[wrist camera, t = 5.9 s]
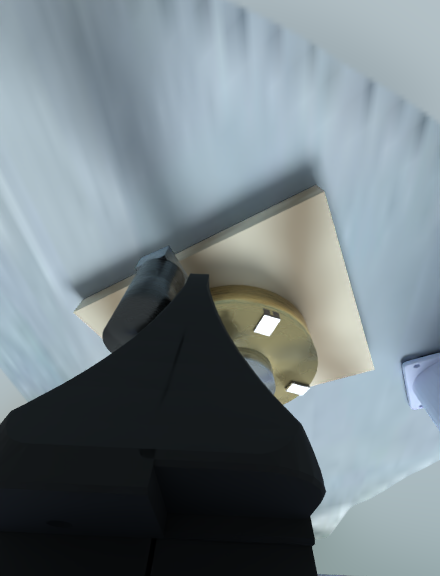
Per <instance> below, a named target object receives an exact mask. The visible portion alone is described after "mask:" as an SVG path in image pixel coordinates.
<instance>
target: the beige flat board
mask: <svg viewBox="0 0 440 576" xmlns="http://www.w3.org/2000/svg"><path fill="white" fill-rule="evenodd" d="M175 256H176V257H177V259H178V261H179V262H180V264H181V265H182V267H183V269H184V270H185V272H186V273H187V275H188V277H189V275H190V273H192V274H209V288H214V287H220V286H228V285H246V286H253V287H258V288H262V289H266V290H269V291H271V292H274V293H276V294H278V295H280V296H282V297H283V298H285V299H286V300H288V301H289V302H291V303H292V304H293V305H294V306H295V307H296V308H297V309H298V310H299V312H300V313H301V315H302V316H303V318H304V320H305V322H306V325H307V327H308V330H309V333H310V335H311V338H312V341H313V343H314V346H315V349H316V352H317V356H318V367H317V372H316V374H315V377H314V379H313V381H312V382H311V384H310V385H309V386H314V385H318V384H322V383H326V382H329V381H333V380H337V379H341V378H345V377H348V376H352V375H356V374H360V373H364V372H368V371H371V370H374V366H373V362H372V359H371V355H370V352H369V348H368V345H367V341H366V338H365V334H364V330H363V327H362V323H361V320H360V316H359V313H358V309H357V305H356V302H355V298H354V295H353V291H352V288H351V284H350V280H349V277H348V273H347V270H346V266H345V263H344V259H343V256H342V252H341V248H340V245H339V241H338V238H337V234H336V231H335V227H334V223H333V220H332V216H331V213H330V209H329V206H328V202H327V199H326V195H325V191H323V190H322V189H321V188H319V187H318V186H317V185H315V186H313V187H310V188H308V189H306V190H304V191H302V192H300V193H298V194H296V195H294V196H292V197H290V198H288V199H286V200H284V201H282V202H280V203H278V204H276V205H274V206H272V207H270V208H268V209H266V210H264V211H262V212H260V213H258V214H256V215H254V216H252V217H250V218H248V219H246V220H244V221H242V222H240V223H238V224H236V225H234V226H232V227H229V228H227V229H225V230H223V231H221V232H219V233H217V234H215V235H213V236H211V237H209V238H207V239H205V240H203V241H201V242H199V243H197V244H195V245H193V246H191V247H189V248H187V249H185V250H183V251H181V252H179V253H177V254H175ZM135 275H136V274H134V275H132V276H130V277H128V278H126V279H124V280H122V281H120V282H118V283H116V284H114V285H112V286H110V287H108V288H106V289H104V290H102V291H100V292H98V293H96V294H94V295H92V296H90V297H88V298H86V299H84V300H83V301H82V302H81V303H80V304H79V306H78V307H77V308H76V309H75V311H74V312H73V313H74V314H75V315H77V316H78V317H79V318H80V319H81V320H82V321H83V322H84V323H86V324H87V325H88V326H89V327H90V328H91V329H92V330H93V331H94V332H96V333H97V334H98V335H99V336H100V337H101V338H102V334H103V330H104V328H105V327H106V325H107V323H108V321H109V320H110V318H111V316H112V315H113V313H114V311H115V309H116V308H117V306H118V304H119V302H120V301H121V299H122V297H123V296H124V294H125V292H126V290H127V289H128V287H129V285H130V283H131V282H132V280H133V278H134V277H135ZM102 339H103V338H102Z"/></svg>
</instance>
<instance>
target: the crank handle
mask: <svg viewBox="0 0 440 576" xmlns="http://www.w3.org/2000/svg"><path fill="white" fill-rule="evenodd" d="M135 269H136V270H137V273H136V275H135V277H134V278H133V280H132V282H131V283H130V285H129V287H128V289H127V290H126V292H125V294H124V296H123V297H122V299H121V301H120V302H119V304H118V306H117V308H116V309H115V311H114V313H113V315H112V316H111V318H110V320H109V321H108V323H107V325H106V327H105V328H104V330H103V334H102V338H103V342H104V344H105V346H106V347H107V349H108V350H109V351H110V352H111V353H113V352H114V351H116V350H117V349H119V348H120V347H121V346H123V345H124V344H125V343H127V342H128V341H129V340H131V339H132V338H133V337H134V336H136V335H137V334H138V333H139V332H140V331H142V330H143V329H144V328H145V327H146V326H147V325H148V324H149V323H151V322H152V321H153V320H154V319H155V318H156V317H157V316H158V315H159V314H160V313H161V312H162V311H163V310H164V309H165V308H166V307H167V305H168V304H169V303H170V302H171V301H172V300H173V299H174V297H175V296H176V295H177V294H178V293H179V292H180V290H181V289H182V288H183V286H184V285H185V284H186V281H187V279H188V275H187V273H186V272H185V270H184V269H183V267H182V265H181V264H180V262H179V261H178V259H177V257H176V256H175V254H174V253H173V251H172V250H171V248H170V246H167V247H164V248H162V249H160V250H158V251H155V252H153V253H151V254H149V255H146V256H144V257H142V258H141V259H140V261H139V262H138V264H137V266H136V267H135ZM210 292H211V295H212V298H213V301H214V304H215V306H216V309H217V311H218V314H219V316H220V318H221V320H222V322H223V324H224V326H225V328H226V330H227V332H228V334H229V335H230V337H231V339H232V340H233V342H234V344H235V345H236V347H237V348H238V350H239V351H240V353H241V354H242V356H243V357H244V358H245V360H246V361H247V362H248V364H249V365H250V366H251V368H252V369H253V370H254V372H255V373H256V374H257V376H258V377H259V378H260V379H261V381H262V382H263V383H264V384H265V385H266V387H267V388H268V389H269V390H270V391H271V392H272V394H273V395H274V396H275V397H276V398H277V399H278V400H279V401H280V402H281V403H282V405H283V404H285V403H287V402H289V401H291V400H293V399H294V398H296V397H297V396H299V395H304V394H305V393H306V392H307V391H308V390H309V389H310V386H309V385H310V384H311V382H312V381H313V379H314V377H315V374H316V372H317V367H318V356H317V352H316V349H315V346H314V343H313V341H312V338H311V335H310V333H309V330H308V327H307V325H306V322H305V320H304V318H303V316H302V315H301V313H300V312H299V310H298V309H297V308H296V307H295V306H294V305H293V304H292V303H291V302H289V301H288V300H286V299H285V298H283V297H282V296H280V295H278V294H276V293H274V292H271V291H269V290H266V289H262V288H258V287H253V286H246V285H228V286H220V287H214V288H210Z"/></svg>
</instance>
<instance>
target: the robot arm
mask: <svg viewBox="0 0 440 576" xmlns="http://www.w3.org/2000/svg"><path fill="white" fill-rule="evenodd" d="M402 369H403V375H404V380H405V386H406V391H407V397H408V402H409V406H410V408H411V409H413V410H417V409H422V408H424V409H425V410H426V412H427V413H428V415H429V416H430V418H431V419H432V421H433V422H434V424H435V425H436V427H437V428H438V429H439V431H440V353H436V354H432V355H428V356H425V357H421V358H417V359H413V360H409V361H406V362H404V363H403V364H402ZM325 493H326V490H325V486H324V481H323V477H322V473H321V470H320V467H319V465H318V462H317V459H316V456H315V454H314V451H313V449H312V446H311V444H310V442H309V439H308V437H307V435H306V433H305V431H304V429H303V426H302V424H301V423H300V422H299V421H298V420H297V419H296V418H295V417H294V416H293V415H292V414H291V413H290V412H289V411H288V410H287V409H286V408H285V407H284V406H283V405H282V403H281V402H280V401H279V400H278V399H277V398H276V397H275V396H274V395H273V394H272V392H271V391H270V390H269V389H268V388H267V387H266V385H265V384H264V383H263V382H262V381H261V379H260V378H259V377H258V376H257V374H256V373H255V372H254V370H253V369H252V368H251V366H250V365H249V364H248V362H247V361H246V360H245V358H244V357H243V356H242V354H241V353H240V351H239V350H238V348H237V347H236V345H235V344H234V342H233V340H232V339H231V337H230V335H229V334H228V332H227V330H226V328H225V326H224V324H223V322H222V320H221V318H220V316H219V314H218V311H217V309H216V306H215V304H214V301H213V298H212V295H211V292H210V288H209V274H192V273H190V275H189V277H188V279H187V281H186V284H185V285H184V286H183V288H182V289H181V290H180V292H179V293H178V294H177V295H176V296H175V297H174V299H173V300H172V301H171V302H170V303H169V304H168V305H167V307H166V308H165V309H164V310H163V311H162V312H161V313H160V314H159V315H158V316H157V317H156V318H155V319H154V320H153V321H152V322H151V323H149V324H148V325H147V326H146V327H145V328H144V329H143V330H142V331H140V332H139V333H138V334H137V335H136V336H134V337H133V338H132V339H131V340H129V341H128V342H127V343H125V344H124V345H123V346H121V347H120V348H119V349H117V350H116V351H114V352H113V353H112V354H110V355H109V356H107V357H106V358H105V359H103V360H101V361H100V362H98V363H97V364H95V365H94V366H92V367H91V368H89V369H87V370H86V371H84V372H82V373H81V374H79V375H77V376H76V377H74V378H72V379H71V380H69V381H67V382H65V383H64V384H62V385H60V386H58V387H56V388H54V389H52V390H51V391H49V392H47V393H45V394H43V395H41V396H39V397H37V398H35V399H34V400H32V401H30V402H28V403H26V404H25V405H22V406H20V407H19V408H16V409H14V410H12V411H11V412H10V413H9V414H8V415H7V417H6V418H5V419H4V420H3V422H2V423H1V424H0V576H346V575H325V574H317V571H316V566H315V560H314V556H313V550H312V546H313V545H314V544H315V538H314V533H313V528H312V523H311V518H310V516H311V514H312V513H313V512H314V511H315V509H316V508H317V507H318V506H319V504H320V503H321V501H322V500H323V498H324V495H325Z"/></svg>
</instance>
